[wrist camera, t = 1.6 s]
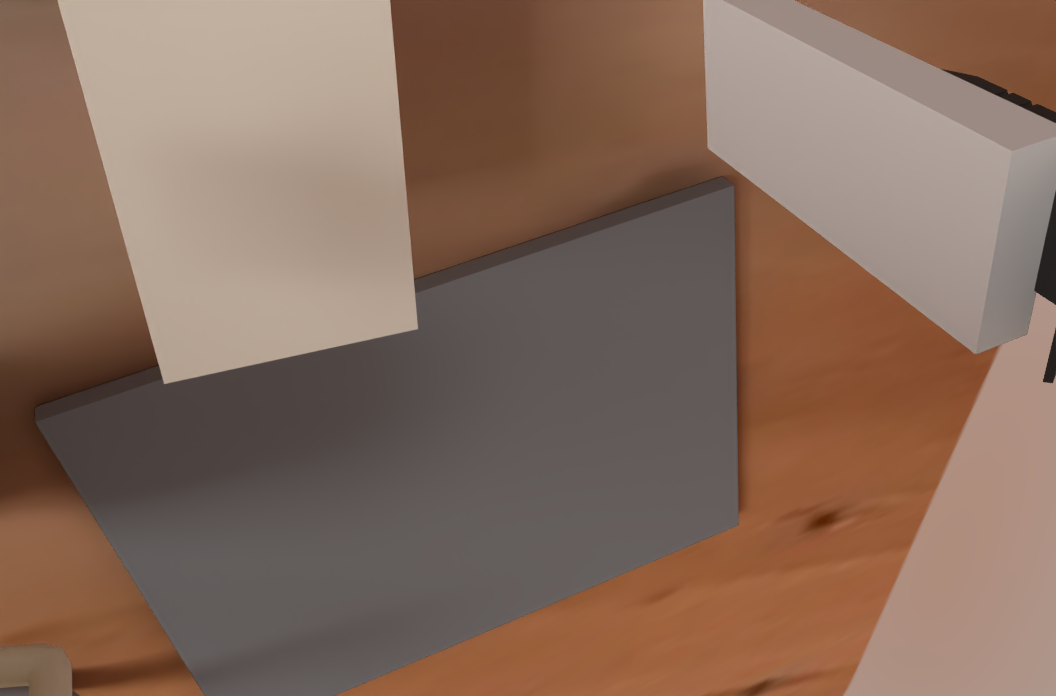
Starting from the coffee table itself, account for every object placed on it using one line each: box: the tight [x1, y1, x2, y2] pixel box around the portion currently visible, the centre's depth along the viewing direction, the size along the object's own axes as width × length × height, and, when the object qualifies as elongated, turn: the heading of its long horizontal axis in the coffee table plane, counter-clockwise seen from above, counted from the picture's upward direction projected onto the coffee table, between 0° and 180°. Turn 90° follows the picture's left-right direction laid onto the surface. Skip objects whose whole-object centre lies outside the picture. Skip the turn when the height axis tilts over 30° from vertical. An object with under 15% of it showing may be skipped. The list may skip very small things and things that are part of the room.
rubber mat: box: [35, 176, 739, 696], centre depth 38 cm, size 24×18×1 cm
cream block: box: [57, 0, 418, 384], centre depth 22 cm, size 6×14×8 cm, turn 0°
